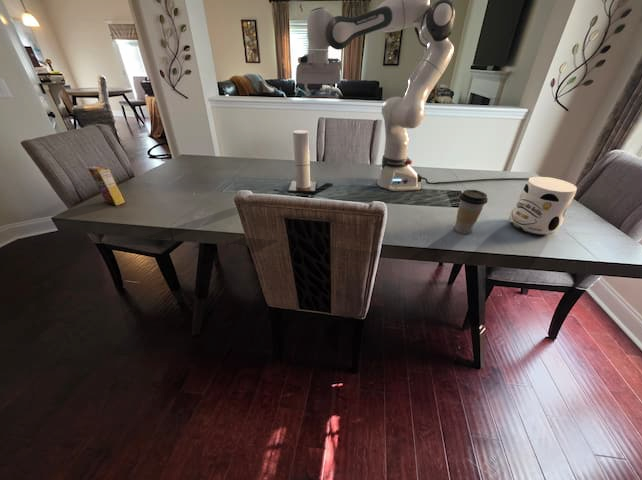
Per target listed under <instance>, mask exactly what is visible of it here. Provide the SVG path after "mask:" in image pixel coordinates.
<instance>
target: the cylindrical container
mask: <svg viewBox="0 0 642 480" xmlns="http://www.w3.org/2000/svg"><path fill="white" fill-rule="evenodd" d="M292 137H293V138H292V139H293V152H294V153H293V155H294V173H295V174H294V175H295V181H296V186H297V187H298V188H308V187H310V181H311V163H310V160H311V159H310V157H311V156H310V131H309V130H306V129H295V130H293V131H292Z"/></svg>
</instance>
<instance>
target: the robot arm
mask: <svg viewBox="0 0 642 480" xmlns="http://www.w3.org/2000/svg"><path fill="white" fill-rule="evenodd" d="M430 1H431V0H384V1H383V2H381V3H380V4H379V5H378V6H377V7H376V8H374V9H372V10H370V11H366V12H364V13H362V14H361V13H360V14H358V15H356V16H352V17H348V16H344V15H337V16H336V15H334V14H333V13H332V12H330V10H328V9H327V8H326V7H322V6H321V7H317V8H313V9H312V10H310V11H309V13H308V15H307V23H306V24H307V25H306V29H307V30H306V34H307V35H306V36H307V40H308V41H307V42H308V45H307V53H305V54H303V55H301V56H299V57H297V63H298V64H297V65H296V68H295V69H296V71H295V82H296V83H297V84H303V87H304V90H305V91H306V96H311V90H309V89H308V84H309V85H310V84H313V85H316V84H317V85H318V84H319V85H329V90H326V95H327V96H329V97H330V96H331V91H332V90H333V88H334V85H339V84H341V79H342V78H341V71H342V69H343V62H342V61H341V59H339V58H338V57H337V58H333V57H332V58H329V47H331V48H332V49H334V50H339V51H340V50H343V49H345V48H346V47H348V45H350V43H351V42H352V41H354V40H355V39H357V38H359V37H362V36H365V35H368V34H371V33H373V32H383V33H393V32H394V33H395V32H398V31H401V30H404V29H407V28H410V27H414V28H413V29H414V32H415V34H416V37H417V40H418V43H419V44H420V45H421V46H422V47H424V48H426V50H425V53H424V54H423V56H422V58H421V59H420V60H419V62H418V64H417V66H416V67H415V68H414V69H413V72H412V73H411V75H410V76H409V78H408V80H407V81H408V82H407V84H408V85H407V86H408V87H407V89H406V92H405V95H404V96H403V97H401V96H392V97H388V98H387V99H386V100H385V101H384V102H383V104H382V106H381V115H382V118H383V121H384V122H383V123H384V131H385V142H384V150H383V155H382V158H381V164H380V165H381V167H380V173H379V176H378V179H377V182H376V184H377V186H379V187H380V188H382V189H386V190H389V191H391V192H403V191H419V190H421V189H422V183H421V182H422V180H424V181H425V183H426V184H429V185H440V184H456V183H469V182H482V181H485V182H486V181H507V180H508V181H509V180H510V181H511V180H512V181H513V180H514V181H516V180H517V181H523V180H524V181H528V180H529V178H530V177H499V178H497V177H495V178H479V179H478V178H477V179H464V180H452V181H438V182H430V181H428V179H427V178H426V177H423V176H421V174H420V173H417V171H415V169H414V168H413V167H411V166H410V165H412V164H413V161H412V159H410V158H409V157H408V156H407V155H408V150H409V143H410V139H409V136H408V132H407V129H408V130H409V129H416V128H418V127H419V126H420V125H421V124H422V122H423V120H424V117H425V105H426V103H427V100H428V98H429V96H430V94H431V92H432V91H433V89H434V88H435V86H436V84H437V83H438V82H439V80H440V78H441V77H442V75H443V74H444V72H445V71H446V70H447V67H448V65H449V64H450V62H451V59H452V58H453V55H454V51H455V48H454V44H453V43H452V42H451V41H450V39H449V37H450V36H451V35H452V32H453V25H454V23H455V17H456V16H455V15H456V10H455V5H454V3H453V2H452V1H451V0H437V1H436V2H435V3H433V4H431V2H430Z"/></svg>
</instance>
